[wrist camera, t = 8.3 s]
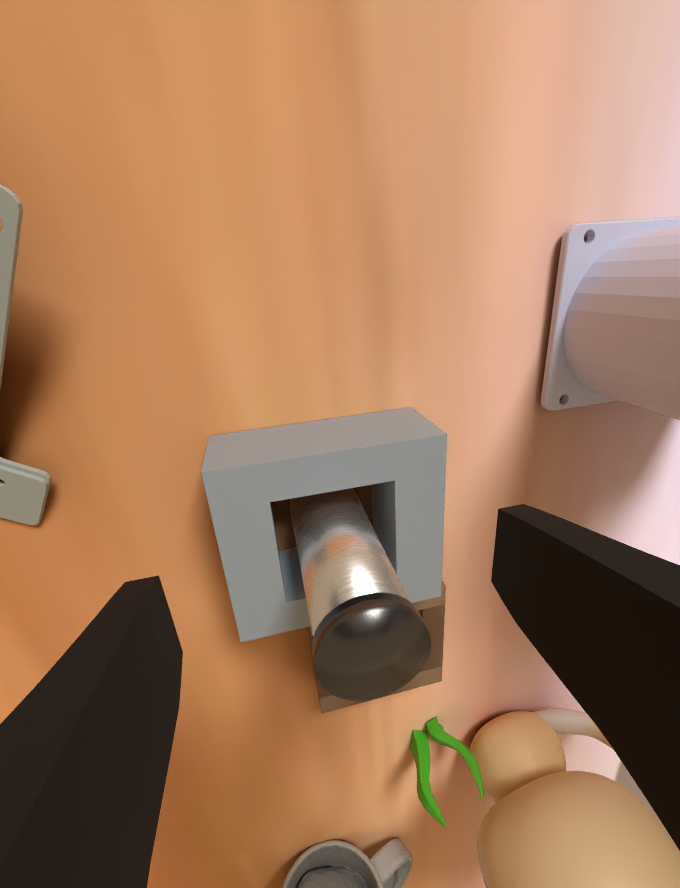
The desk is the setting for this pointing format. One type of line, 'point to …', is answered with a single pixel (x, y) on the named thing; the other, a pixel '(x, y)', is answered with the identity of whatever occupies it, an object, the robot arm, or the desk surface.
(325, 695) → the mount
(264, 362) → the desk surface
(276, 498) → the dock
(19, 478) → the metal bracket
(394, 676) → the pin
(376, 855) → the ceramic mug
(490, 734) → the kitten
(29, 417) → the desk surface
